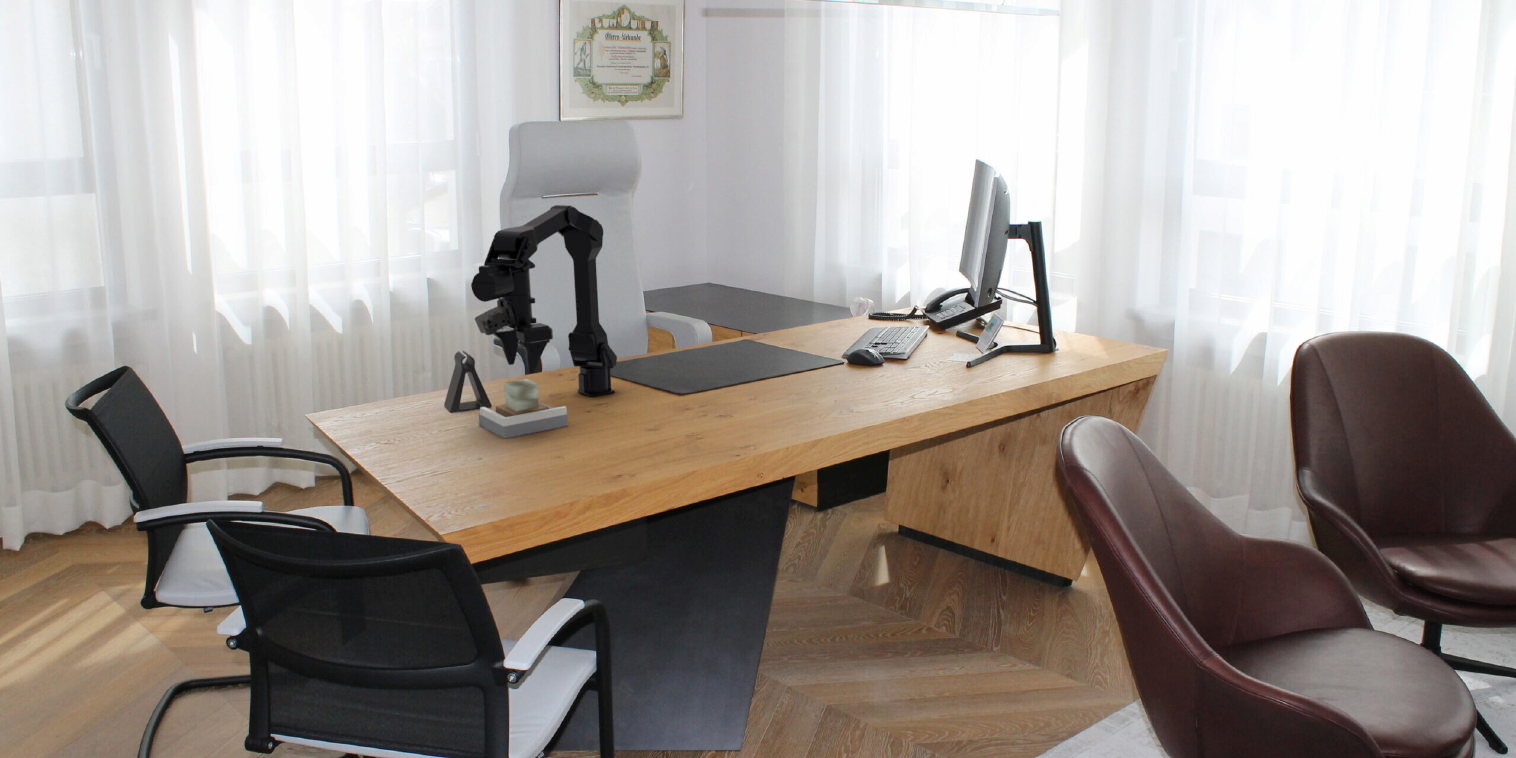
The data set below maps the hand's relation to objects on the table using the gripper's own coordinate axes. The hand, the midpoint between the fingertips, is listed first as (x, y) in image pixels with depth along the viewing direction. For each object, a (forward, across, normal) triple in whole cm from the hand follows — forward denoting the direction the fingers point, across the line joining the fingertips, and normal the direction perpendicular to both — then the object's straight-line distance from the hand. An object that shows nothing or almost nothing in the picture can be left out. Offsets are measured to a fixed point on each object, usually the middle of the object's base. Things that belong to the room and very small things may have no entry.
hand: (521, 368), depth 223 cm
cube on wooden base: (+9, +1, -1) cm, 9 cm away
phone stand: (+12, -20, -4) cm, 24 cm away
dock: (+12, +1, -1) cm, 12 cm away
